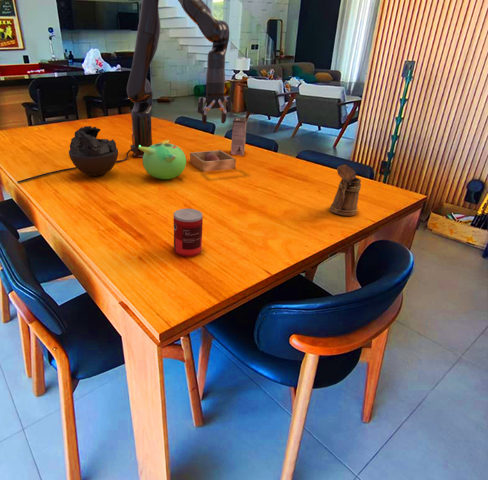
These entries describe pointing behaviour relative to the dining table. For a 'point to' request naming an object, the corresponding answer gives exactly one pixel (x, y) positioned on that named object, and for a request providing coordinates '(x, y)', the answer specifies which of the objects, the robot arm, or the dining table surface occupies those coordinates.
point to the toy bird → (163, 160)
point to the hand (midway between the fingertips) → (213, 123)
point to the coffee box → (238, 136)
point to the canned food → (188, 232)
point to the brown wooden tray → (204, 166)
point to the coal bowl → (92, 152)
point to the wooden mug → (346, 192)
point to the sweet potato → (211, 157)
